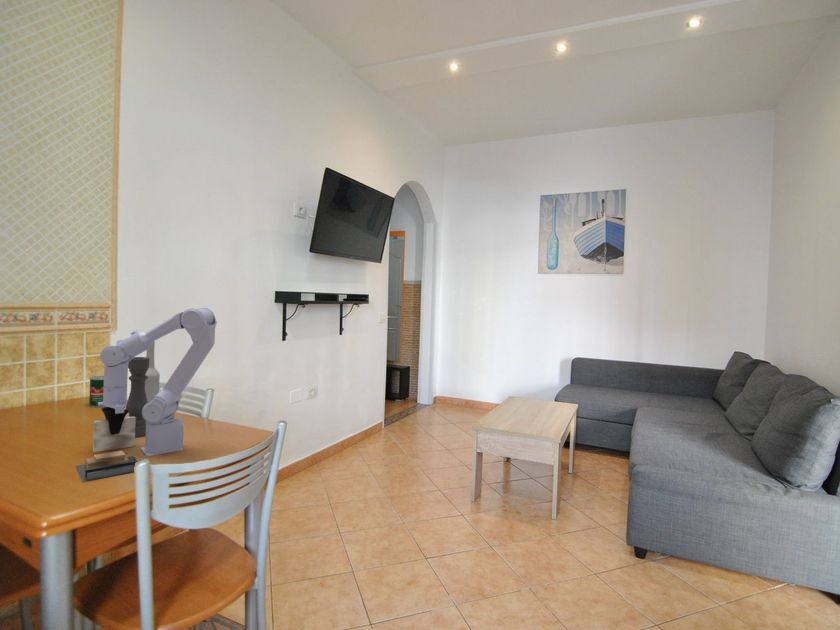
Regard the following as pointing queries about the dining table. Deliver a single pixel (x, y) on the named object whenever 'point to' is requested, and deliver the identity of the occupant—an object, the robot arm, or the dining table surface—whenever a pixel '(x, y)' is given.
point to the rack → (106, 470)
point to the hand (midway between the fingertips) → (113, 432)
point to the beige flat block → (108, 441)
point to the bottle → (151, 376)
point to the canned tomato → (96, 391)
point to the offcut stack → (106, 459)
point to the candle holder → (138, 393)
